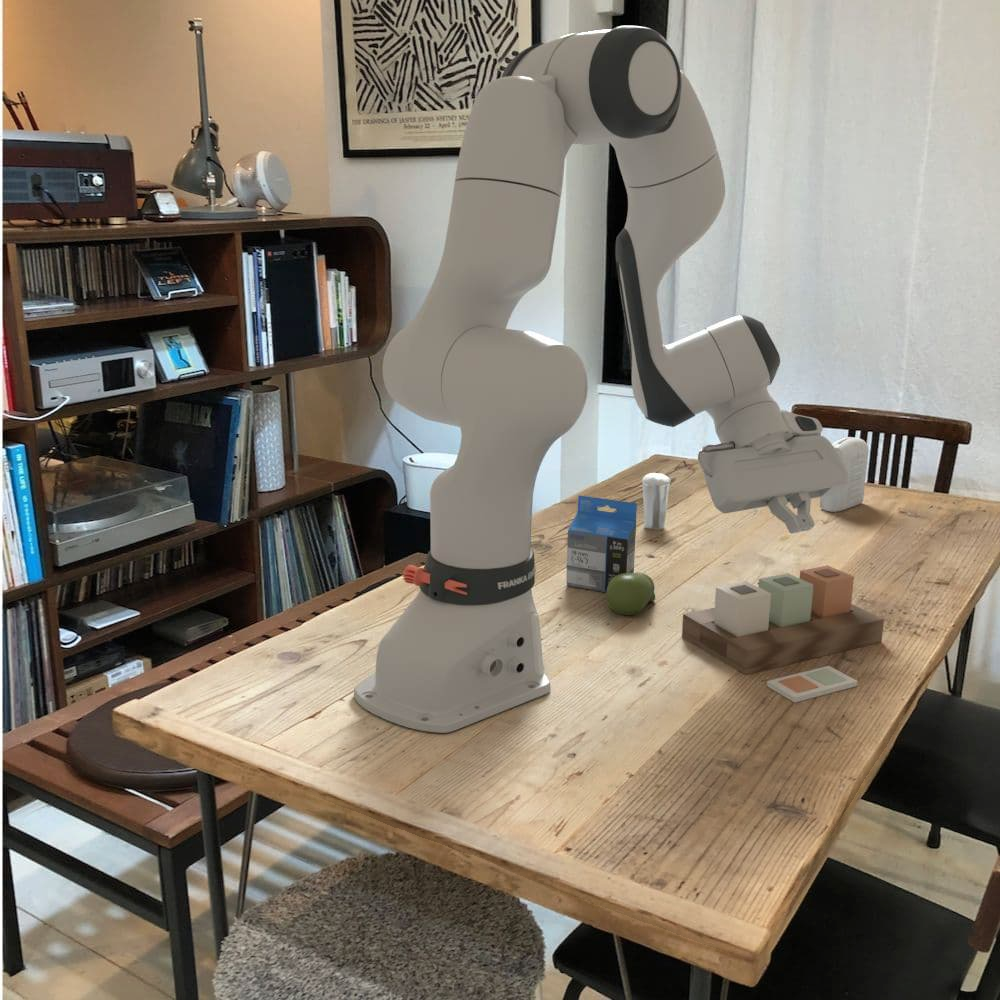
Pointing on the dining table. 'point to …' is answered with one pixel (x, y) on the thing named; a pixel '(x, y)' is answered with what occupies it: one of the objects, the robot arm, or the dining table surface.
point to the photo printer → (856, 466)
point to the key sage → (788, 599)
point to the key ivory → (742, 608)
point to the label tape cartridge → (600, 543)
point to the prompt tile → (811, 683)
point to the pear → (630, 593)
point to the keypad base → (783, 639)
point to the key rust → (829, 590)
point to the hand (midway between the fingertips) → (803, 529)
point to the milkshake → (655, 499)
